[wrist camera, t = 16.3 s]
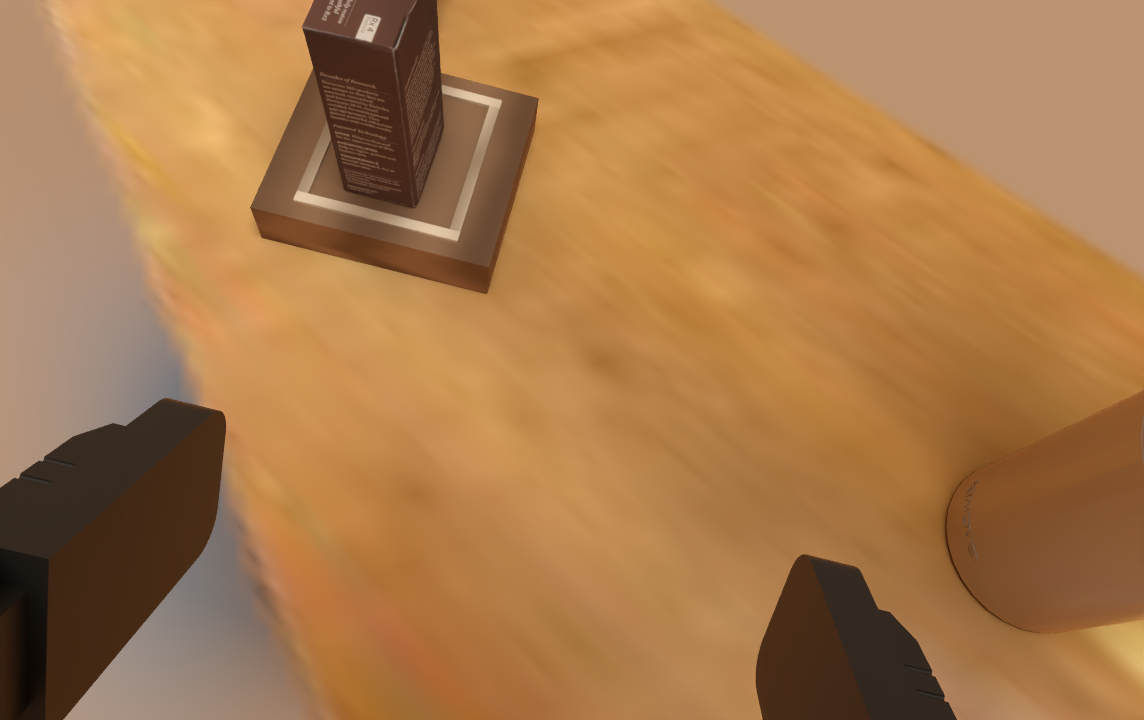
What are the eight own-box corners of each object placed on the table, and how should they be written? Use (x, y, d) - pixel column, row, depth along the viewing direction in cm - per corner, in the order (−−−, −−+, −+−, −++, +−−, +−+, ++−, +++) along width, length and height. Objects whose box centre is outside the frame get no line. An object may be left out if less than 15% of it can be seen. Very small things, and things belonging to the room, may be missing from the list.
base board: (534, 131, 52) (538, 96, 49) (486, 293, 47) (489, 265, 44) (331, 78, 52) (324, 40, 49) (261, 237, 47) (249, 205, 44)
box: (368, 108, 48) (344, -75, 37) (445, 128, 48) (443, -48, 37) (334, 193, 45) (297, 23, 34) (415, 213, 45) (404, 51, 34)
